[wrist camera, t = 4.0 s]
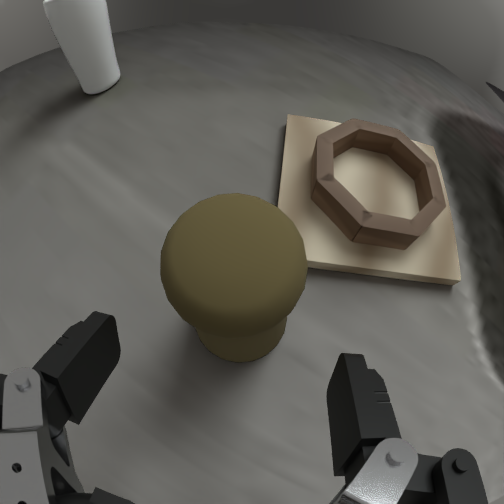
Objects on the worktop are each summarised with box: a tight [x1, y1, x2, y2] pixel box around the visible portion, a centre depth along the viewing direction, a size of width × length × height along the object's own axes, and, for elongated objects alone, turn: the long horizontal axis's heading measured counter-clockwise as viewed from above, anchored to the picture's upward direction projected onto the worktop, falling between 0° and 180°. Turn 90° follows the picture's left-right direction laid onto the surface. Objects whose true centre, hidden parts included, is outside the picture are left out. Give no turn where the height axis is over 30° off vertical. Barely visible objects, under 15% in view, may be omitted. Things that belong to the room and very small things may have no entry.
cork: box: [160, 193, 308, 362], centre depth 14 cm, size 6×6×11 cm
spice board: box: [278, 115, 461, 285], centre depth 21 cm, size 15×14×4 cm
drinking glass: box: [43, 0, 120, 94], centre depth 23 cm, size 7×7×15 cm
